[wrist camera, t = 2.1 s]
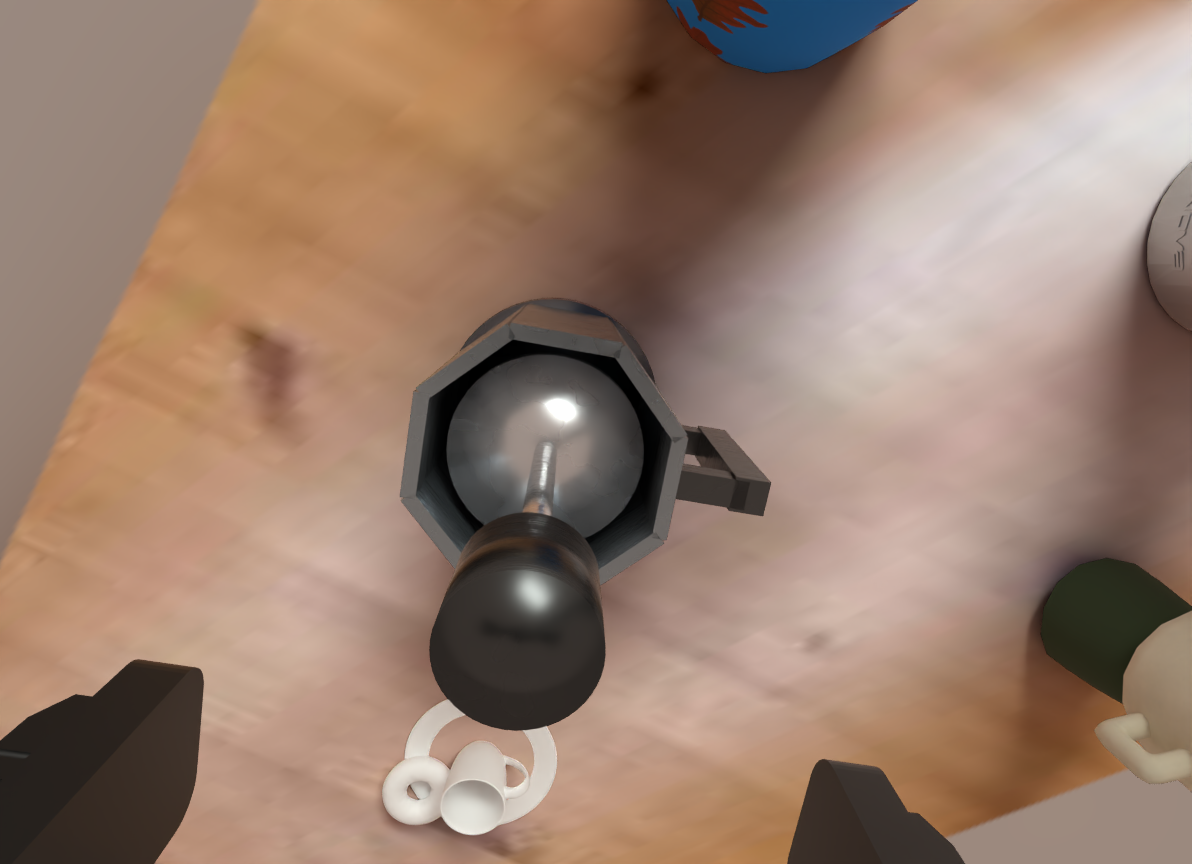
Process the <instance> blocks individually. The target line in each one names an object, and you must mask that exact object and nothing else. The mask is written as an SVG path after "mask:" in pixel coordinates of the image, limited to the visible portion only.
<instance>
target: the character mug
mask: <svg viewBox="0 0 1192 864" xmlns="http://www.w3.org/2000/svg"><path fill="white" fill-rule="evenodd" d="M1041 637H1042V640H1043V643H1044V646H1045V649H1046V652H1047V654H1048V655H1049V656H1050V657H1052V658H1053V659H1054V660H1056V661H1057V662H1058V663H1060V664H1061V665H1062V666H1064V667H1065V668H1066V669H1068V670H1069V671H1071V672H1072V673H1074V674H1075V675H1077V676H1078V677H1080V678H1081V679H1083V680H1084V681H1086V682H1087V683H1088V684H1090V685H1091V686H1093V687H1095V688H1096V689H1098V690H1100V691H1101V692H1103V693H1105V694H1107V695H1108V696H1110V697H1112V698H1113V699H1115V700H1117V701H1118V702H1120V703H1122V704H1123V705H1124V708H1125V710H1126V713H1127V715H1124V716H1120V717H1116V718H1111V719H1107V720H1105V721H1103V722H1101V723H1100V724H1098V725H1097V727H1096V728H1095V730H1094V731H1095V733H1096V735H1097V737H1098V739H1099V740H1100V742H1101V743H1102V744H1103V746H1104V747H1105V748H1106V749H1107V750H1108V751H1110V752H1111V753H1112V754H1113V755H1114V756H1115V757H1116V758H1117V759H1118V760H1119V761H1120V762H1121V763H1123V764H1124V765H1125V766H1126V767H1127V768H1128V769H1129V770H1130V771H1131V772H1132V773H1133V774H1135V775H1136V776H1137V777H1138V778H1140V779H1142V780H1143V781H1145V782H1147V783H1149V784H1163V783H1168V782H1172V781H1176V780H1178V781H1180V782H1181V783H1182V784H1183V785H1184V786H1185V787H1186V788H1188V789H1189V790H1190V791H1191V792H1192V606H1191V605H1189V604H1188V603H1187V602H1186V601H1184V600H1183V599H1182V598H1180V597H1179V596H1178V595H1177V594H1175V593H1174V592H1173V591H1172V590H1170V589H1169V588H1168V587H1167V586H1165V585H1164V584H1163V583H1161V582H1160V581H1159V580H1157V579H1156V578H1154V577H1153V576H1152V575H1150V574H1149V573H1147V572H1146V571H1144V570H1143V569H1142V568H1140V567H1139V566H1137V565H1136V564H1133V563H1128V562H1123V561H1119V560H1114V559H1109V558H1105V559H1101V560H1097V561H1093V562H1089V563H1085V564H1081V565H1078V566H1077V567H1076V568H1075V569H1074V570H1072V571H1071V572H1070V573H1069V574H1067V575H1066V576H1065V577H1064V578H1063V579H1061V580H1060V581H1059V582H1058V583H1057V584H1056V586H1055V588H1054V590H1053V591H1052V593H1051V595H1050V597H1049V599H1048V601H1047V603H1046V605H1045V607H1044V609H1043V618H1042V627H1041ZM1137 740H1138V742H1139V743H1140V744H1141V745H1142V747H1143V748H1144V749H1145V750H1144V749H1143V748H1142V747H1141V746H1140V745H1139V744H1137V743H1136V742H1135V741H1137Z"/></svg>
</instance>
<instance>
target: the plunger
mask: <svg viewBox="0 0 1192 864" xmlns="http://www.w3.org/2000/svg"><path fill="white" fill-rule="evenodd" d="M643 458H644V445H643V437H642V431H641V428H640V424H639V421H638V418H637V415H636V413H635V411H634V409H633V406H632V404H631V402H630V401H629V399H628V397H627V396H626V394H625V393H624V391H623V390H622V389H621V388H620V386H619V385H618V384H617V383H616V382H615V381H614V380H613V379H612V378H611V377H610V376H609V375H608V374H606V373H605V372H603V371H602V370H601V369H599V368H598V367H596V366H594V365H592V364H591V363H589V362H587V361H584V360H582V359H579V358H577V357H574V356H570V355H566V354H560V353H551V352H542V353H531V354H524V355H521V356H517V357H514V358H511V359H509V360H506V361H504V362H502V363H500V364H498V365H496V366H495V367H493V368H491V369H490V370H488V371H487V372H486V373H485V374H484V375H482V376H481V377H480V378H479V379H478V380H477V381H476V382H475V383H474V384H473V385H472V386H471V387H470V389H469V390H468V391H467V393H466V394H465V395H464V397H463V398H462V400H461V401H460V403H459V405H458V407H457V409H456V410H455V412H454V415H453V418H452V421H451V423H450V427H449V432H448V437H447V463H448V468H449V473H450V476H451V479H452V482H453V485H454V487H455V489H456V491H457V493H458V495H459V497H460V499H461V500H462V502H463V503H464V505H465V506H466V508H467V509H468V510H469V511H470V512H471V513H472V514H473V515H474V517H476V518H477V519H478V520H479V521H480V522H481V523H482V524H483V525H484V526H483V527H482V528H480V529H479V530H478V531H477V532H476V533H475V534H474V535H473V536H472V537H471V538H470V540H469V541H468V542H467V544H466V545H465V547H464V549H463V551H462V552H461V555H460V558H459V560H458V563H457V566H456V568H455V571H454V574H453V576H452V579H451V581H450V584H449V587H448V589H447V592H446V595H445V597H444V600H443V603H442V605H441V608H440V611H439V613H438V616H437V619H436V621H435V624H434V626H433V629H432V634H431V638H430V649H429V651H430V662H431V667H432V671H433V674H434V676H435V679H436V681H437V683H438V685H439V687H440V689H441V691H442V692H443V693H444V695H445V696H446V697H447V699H448V700H449V701H450V702H451V703H452V704H453V705H454V706H455V707H456V708H457V709H459V710H460V711H461V712H462V713H464V714H465V715H467V716H468V717H470V718H472V719H473V720H475V721H478V722H480V723H482V724H485V725H488V726H491V727H494V728H499V729H504V730H515V731H517V730H531V729H538V728H542V727H545V726H549V725H551V724H554V723H556V722H559V721H561V720H562V719H564V718H566V717H568V716H569V715H571V714H572V713H573V712H575V711H576V710H577V709H578V708H579V707H581V706H582V705H583V704H584V703H585V702H586V700H587V699H588V698H589V697H590V695H591V694H592V693H593V691H594V689H595V688H596V686H597V684H598V682H599V680H600V677H601V675H602V671H603V667H604V662H605V636H604V624H603V613H602V601H601V589H600V577H599V569H598V564H597V561H596V558H595V555H594V553H593V551H592V549H591V547H590V546H589V544H588V543H587V541H586V540H585V539H584V538H586V537H588V536H591V535H592V534H594V533H596V532H598V531H599V530H601V529H602V528H604V527H605V526H606V525H608V524H609V523H610V522H612V521H613V520H614V519H615V518H616V517H617V516H618V515H619V514H620V513H621V511H622V510H623V509H624V507H625V506H626V505H627V504H628V502H629V500H630V498H631V497H632V495H633V493H634V491H635V489H636V487H637V484H638V482H639V478H640V475H641V471H642V465H643Z"/></svg>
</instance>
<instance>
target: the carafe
mask: <svg viewBox="0 0 1192 864" xmlns="http://www.w3.org/2000/svg"><path fill="white" fill-rule="evenodd" d="M542 352H551V353H560V354H566V355H570V356H574V357H577V358H579V359H582V360H584V361H587V362H589V363H591V364H592V365H594V366H596V367H598V368H599V369H601V370H602V371H603V372H605V373H606V374H608V375H609V376H610V377H611V378H612V379H613V380H614V381H615V382H616V383H617V384H618V385H619V386H620V388H621V389H622V390H623V391H624V393H625V394H626V396H627V397H628V399H629V401H630V402H631V404H632V406H633V409H634V411H635V413H636V415H637V418H638V421H639V424H640V428H641V431H642V437H643V445H644V458H643V465H642V471H641V475H640V478H639V482H638V484H637V487H636V489H635V491H634V493H633V495H632V497H631V498H630V500H629V502H628V504H627V505H626V506H625V507H624V509H623V510H622V511H621V513H620V514H619V515H618V516H617V517H616V518H615V519H614V520H613V521H612V522H610V523H609V524H608V525H606V526H605V527H604V528H602V529H601V530H599V531H598V532H596V533H594V534H592V535H591V536H588V537H586V538H584V539H585V540H586V541H587V543H588V544H589V546H590V547H591V549H592V551H593V553H594V555H595V558H596V561H597V564H598V569H599V577H600V585H602V584H603V583H605V582H606V581H608V580H609V579H611V578H612V577H614V576H616V575H617V574H619V573H620V572H622V571H623V570H625V569H626V568H628V567H629V566H631V565H632V564H634V563H635V562H637V561H638V560H640V559H641V558H643V557H645V556H646V555H648V554H649V553H651V552H652V551H654V550H655V549H657V548H658V547H660V546H661V545H663V544H664V541H663V540H667V536H668V531H669V526H670V522H671V517H672V512H673V508H674V503H675V499H679V500H685V501H691V502H697V503H703V504H709V505H715V506H721V507H727V509H728V510H729V511H734V512H740V513H746V514H752V515H758V516H763V515H764V510H765V506H766V502H767V498H768V494H769V490H770V486H771V482H770V481H769V480H768V479H767V477H766V476H765V475H764V474H763V473H762V472H761V471H760V470H759V468H758V467H757V466H756V465H755V464H754V463H753V462H752V460H751V459H750V458H749V457H748V456H747V455H746V454H745V453H744V451H743V450H742V449H741V448H740V447H739V446H738V445H737V444H736V442H735V441H734V440H733V439H732V438H731V437H730V436H729V434H728V433H727V432H726V431H725V430H720V429H714V428H708V427H703V426H698V428H695V427H689V426H684V425H681V424H680V423H679V421H678V419H677V418H676V416H675V415H674V413H673V412H672V410H671V409H670V407H669V406H668V404H667V403H666V401H665V399H664V398H663V396H662V395H661V393H660V392H659V390H658V389H657V387H656V385H655V381H654V377H653V373H652V370H651V368H650V365H649V363H648V360H647V358H646V356H645V355H644V353H643V351H642V350H641V348H640V346H639V345H638V343H637V342H636V341H635V340H634V338H633V337H632V336H631V334H630V333H629V332H628V331H627V330H626V329H625V328H624V327H623V326H622V325H621V324H620V323H619V322H617V321H616V320H615V319H613V318H612V317H611V316H609V315H608V314H606V313H604V312H602V311H601V310H599V309H597V308H595V307H592V306H590V305H587V304H585V303H582V302H578V301H574V300H569V299H560V298H542V299H535V300H529V301H526V302H522V303H519V304H516V305H513V306H511V307H509V308H507V309H504V310H502V311H501V312H499V313H498V314H496V315H494V316H493V317H491V318H490V319H489V320H487V321H486V322H485V323H484V324H482V325H481V326H480V327H479V328H478V329H477V330H476V331H475V332H474V333H473V334H472V335H471V336H470V337H469V339H468V340H467V341H466V343H465V344H464V346H463V347H462V348H461V350H460V352H459V353H457V354H456V355H455V356H454V357H453V358H451V359H450V360H449V361H448V362H447V363H445V364H444V365H443V366H442V367H440V368H439V369H438V370H437V371H436V372H434V373H433V374H432V375H431V376H430V377H428V378H427V379H426V380H425V381H424V382H422V383H421V384H420V385H419V386H418V387H416V390H415V391H414V392H413V400H412V407H411V415H410V423H409V430H408V438H407V445H406V453H405V460H404V468H403V476H402V483H401V491H400V497H403V499H402V500H401V502H402V503H403V504H404V506H405V507H406V508H407V509H408V511H409V512H410V513H411V514H412V516H413V517H414V518H415V519H416V521H417V522H418V523H419V524H420V526H421V527H422V528H423V529H424V531H425V532H426V533H427V535H428V536H429V537H430V538H431V540H432V541H433V542H434V543H435V545H436V546H437V547H438V548H439V550H440V551H441V552H442V553H443V555H444V556H445V557H446V558H447V560H448V561H449V562H450V563H451V565H452V566H453V567H454V569H455V568H456V566H457V563H458V560H459V558H460V555H461V552H462V551H463V549H464V547H465V545H466V544H467V542H468V541H469V540H470V538H471V537H472V536H473V535H474V534H475V533H476V532H477V531H478V530H479V529H480V528H482V527H483V526H484V525H483V524H482V523H481V522H480V521H479V520H478V519H477V518H476V517H474V515H473V514H472V513H471V512H470V511H469V510H468V509H467V508H466V506H465V505H464V503H463V502H462V500H461V499H460V497H459V495H458V493H457V491H456V489H455V487H454V485H453V482H452V479H451V476H450V473H449V468H448V463H447V437H448V432H449V427H450V423H451V421H452V418H453V415H454V412H455V410H456V409H457V407H458V405H459V403H460V401H461V400H462V398H463V397H464V395H465V394H466V393H467V391H468V390H469V389H470V387H471V386H472V385H473V384H474V383H475V382H476V381H477V380H478V379H479V378H480V377H481V376H482V375H484V374H485V373H486V372H487V371H488V370H490V369H491V368H493V367H495V366H496V365H498V364H500V363H502V362H504V361H506V360H509V359H511V358H514V357H517V356H521V355H524V354H531V353H542ZM685 454H690V455H695V457H696V458H697V460H698V462H699V463H700V465H701V467H700V466H694V465H688V464H683V461H684V456H685Z"/></svg>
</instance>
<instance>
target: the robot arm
mask: <svg viewBox="0 0 1192 864" xmlns="http://www.w3.org/2000/svg"><path fill="white" fill-rule="evenodd" d="M1147 267H1148V272H1149V277H1150V283H1151V286H1152V288H1153V290H1154V293H1155V295H1156V297H1157V299H1158V302H1159V303H1160V304H1161V306H1162V307H1163V308H1164V310H1165V311H1166V312H1167V313H1168V315H1169V316H1170V317H1171V318H1172V319H1173V320H1175V321H1176V322H1177V323H1179V324H1180V325H1181V326H1182V327H1184V328H1185V329H1187V330H1189V331H1192V162H1191V163H1190V164H1189V165H1188V166H1187V167H1186V168H1185V169H1184V170H1183V171H1182V172H1181V174H1180V175H1179V176H1178V177H1177V178H1176V179H1175V180H1174V181H1173V183H1172V184H1171V186H1170V187H1169V189H1168V190H1167V192H1166V193H1165V195H1164V196H1163V198H1162V200H1161V202H1160V204H1159V206H1158V209H1157V211H1156V213H1155V216H1154V218H1153V220H1152V225H1151V229H1150V233H1149V238H1148V242H1147ZM203 688H204V680H203V674H202V671H201V670H200V669H199V668H195V667H188V666H181V665H174V664H167V663H160V662H153V661H146V660H139V659H137V660H134V661H132V662H130V663H129V664H128V665H126V666H125V667H124V668H123V669H122V670H121V671H120V672H119V673H118V674H117V675H116V676H114V677H113V678H112V679H111V680H110V681H109V682H108V683H107V684H106V685H105V686H104V687H103V688H101V689H100V690H99V691H98V692H97V693H96V694H95V695H94V696H93V697H91V696H84V695H77V694H75V695H73V696H71V697H69V698H67V699H65V700H63V701H61V702H59V703H57V704H54V705H52V706H50V707H48V708H46V709H44V710H42V711H40V712H38V713H36V714H34V715H31V716H29V717H28V718H26V719H25V720H24V721H23V722H22V723H20V724H19V725H18V726H17V727H16V728H15V729H13V730H12V731H11V732H10V733H9V734H8V735H6V736H5V737H4V738H3V739H2V740H0V864H154V863H155V861H156V860H157V859H158V857H159V856H160V854H161V853H162V851H163V850H164V848H165V847H166V845H167V844H168V842H169V841H170V840H171V838H172V837H173V835H174V834H175V832H176V831H177V829H178V827H179V826H180V824H181V822H182V820H183V818H184V815H185V813H186V811H187V808H188V806H189V803H190V800H191V797H192V794H193V790H194V786H195V781H196V774H197V763H198V751H199V738H200V726H201V713H202V701H203ZM787 864H965V863H964V861H963V860H962V858H961V857H960V855H959V854H958V852H957V851H956V849H955V847H954V846H953V845H952V844H951V843H950V842H949V841H948V840H947V839H946V838H944V837H943V836H942V835H941V834H940V833H939V832H938V831H937V830H936V829H935V828H934V827H933V826H931V825H930V824H929V823H928V822H927V821H926V820H925V819H924V818H923V817H922V816H921V815H920V814H918V813H910V812H908V811H907V810H906V808H905V806H904V805H903V803H902V802H901V800H900V798H899V797H898V795H897V793H896V792H895V790H894V788H893V787H892V785H891V783H890V782H889V780H888V779H887V777H886V775H885V774H884V772H883V771H882V770H881V769H880V768H878V767H874V766H867V765H860V764H853V763H846V762H839V761H832V760H825V759H822V760H819V761H818V762H817V763H816V765H815V767H814V769H813V771H812V774H811V777H810V781H809V784H808V788H807V791H806V795H805V799H804V802H803V806H802V809H801V813H800V817H799V820H798V824H797V827H796V831H795V835H794V838H793V842H792V845H791V849H790V853H789V857H788V863H787Z"/></svg>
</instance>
